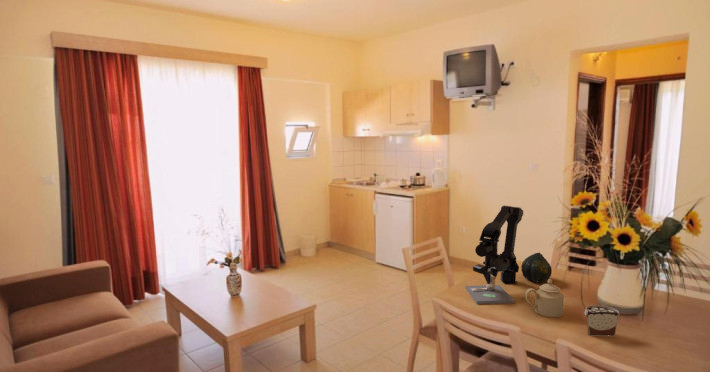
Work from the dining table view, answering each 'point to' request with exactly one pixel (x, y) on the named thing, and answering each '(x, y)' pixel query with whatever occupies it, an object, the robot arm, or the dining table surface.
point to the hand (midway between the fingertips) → (490, 283)
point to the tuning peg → (488, 285)
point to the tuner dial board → (489, 295)
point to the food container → (601, 320)
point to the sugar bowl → (547, 300)
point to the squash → (536, 268)
